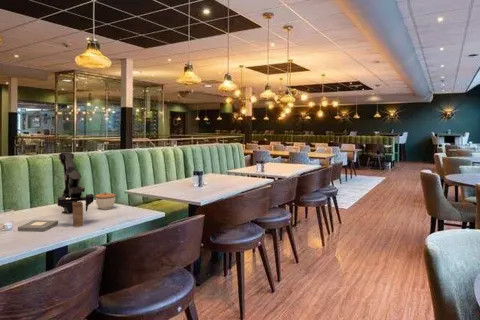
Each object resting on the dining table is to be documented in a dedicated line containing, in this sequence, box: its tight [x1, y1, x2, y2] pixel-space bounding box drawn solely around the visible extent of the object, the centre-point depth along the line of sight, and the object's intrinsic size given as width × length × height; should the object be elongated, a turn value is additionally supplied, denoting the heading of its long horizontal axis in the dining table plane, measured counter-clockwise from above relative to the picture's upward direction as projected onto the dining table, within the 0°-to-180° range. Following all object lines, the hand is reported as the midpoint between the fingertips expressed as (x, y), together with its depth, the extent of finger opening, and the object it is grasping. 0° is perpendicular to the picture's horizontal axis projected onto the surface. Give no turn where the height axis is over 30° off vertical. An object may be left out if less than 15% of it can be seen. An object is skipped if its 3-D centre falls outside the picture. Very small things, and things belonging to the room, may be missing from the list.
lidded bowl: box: [94, 191, 116, 210], centre depth 237 cm, size 13×13×11 cm
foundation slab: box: [17, 219, 59, 233], centre depth 192 cm, size 14×14×2 cm
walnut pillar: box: [72, 201, 84, 228], centre depth 197 cm, size 5×5×13 cm
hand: (77, 212), depth 196 cm, fingers open, 9 cm apart
